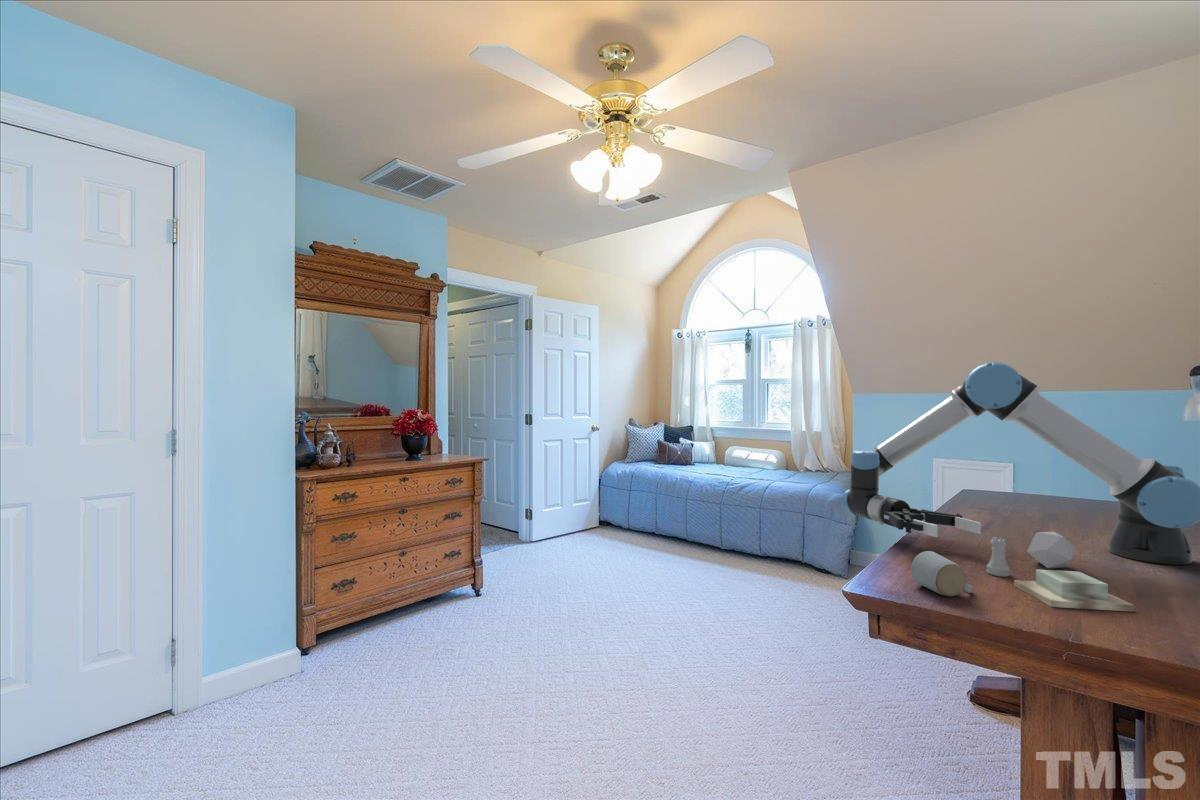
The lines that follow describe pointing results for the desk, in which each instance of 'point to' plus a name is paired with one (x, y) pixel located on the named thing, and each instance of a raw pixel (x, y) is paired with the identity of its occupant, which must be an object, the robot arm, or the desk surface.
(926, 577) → the ceramic mug
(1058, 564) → the die
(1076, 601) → the plinth
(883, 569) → the desk surface
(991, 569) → the rook chess piece
